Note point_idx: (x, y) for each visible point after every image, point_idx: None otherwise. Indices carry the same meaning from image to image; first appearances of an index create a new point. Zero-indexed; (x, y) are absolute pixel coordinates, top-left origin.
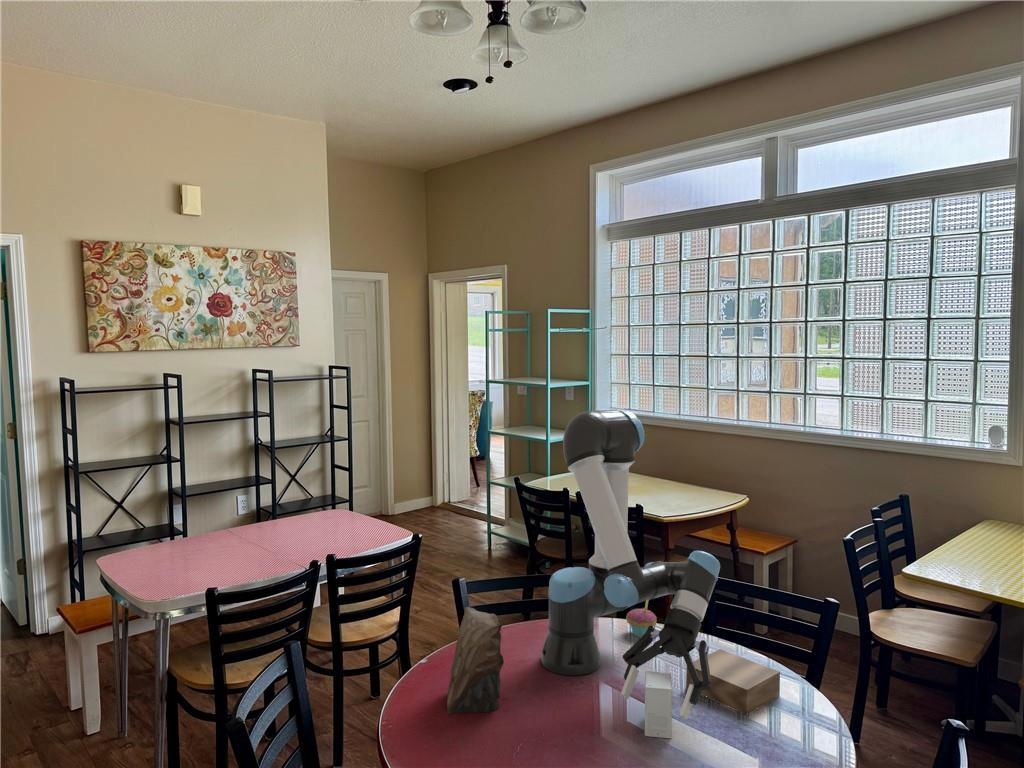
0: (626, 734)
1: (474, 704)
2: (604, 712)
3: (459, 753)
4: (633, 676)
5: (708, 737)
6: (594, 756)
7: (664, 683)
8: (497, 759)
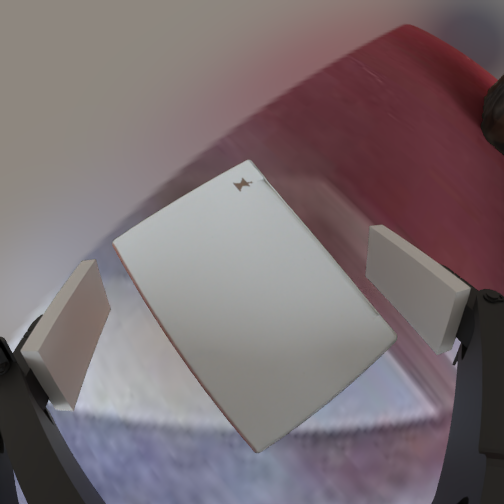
0: None
1: (487, 103)
2: None
3: (392, 42)
4: (419, 294)
5: (96, 401)
6: (268, 115)
7: (185, 270)
8: (357, 48)
